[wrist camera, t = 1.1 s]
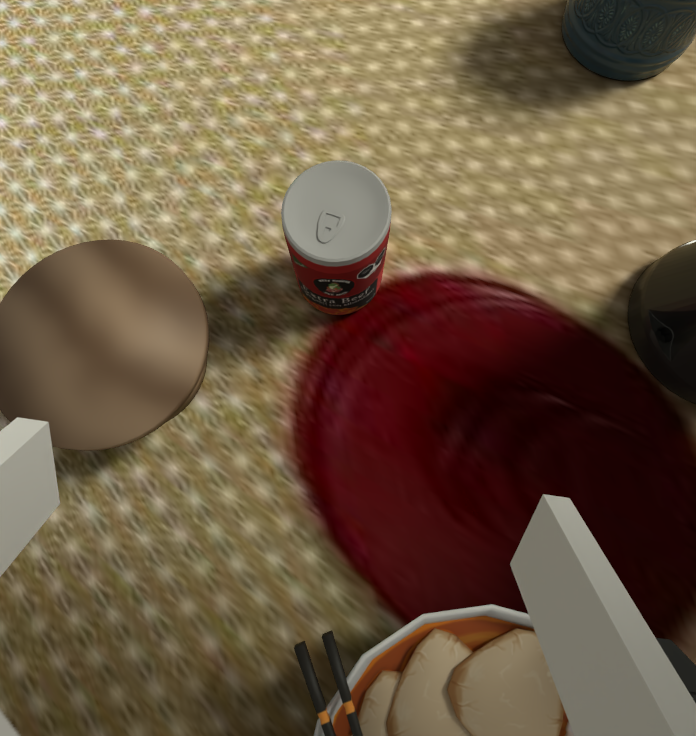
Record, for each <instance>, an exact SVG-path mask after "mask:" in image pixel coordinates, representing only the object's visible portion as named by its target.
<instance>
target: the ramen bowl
mask: <svg viewBox="0 0 696 736" xmlns="http://www.w3.org/2000/svg"><path fill="white" fill-rule="evenodd" d="M322 639H323V642H324V645H325V649H326V652H327V655H328V658H329V661H330V665H331V668H332V671H333V674H334V677H335V680H336V684H337V687H338V691H337V692H336V694H335V695H334V697H333V698H332V700H331V701H330V703H329V704H328V706H327V707H326V704H325V701H324V698H323V695H322V692H321V689H320V686H319V683H318V680H317V677H316V674H315V671H314V668H313V665H312V662H311V659H310V656H309V653H308V650H307V647H306V644H305V641H303V642H301V643H299V644H296V645H295V648H294V650H295V653H296V655H297V658H298V661H299V664H300V667H301V670H302V672H303V675H304V678H305V681H306V684H307V687H308V690H309V692H310V695H311V698H312V701H313V704H314V707H315V709H316V712H317V715H318V717H319V719H318V720H317V724H316V728H315V733H314V736H574V734H573V731H572V729H571V726H570V723H569V721H568V718H567V715H566V713H565V710H564V707H563V705H562V702H561V699H560V697H559V694H558V691H557V689H556V686H555V683H554V681H553V678H552V675H551V673H550V670H549V667H548V665H547V662H546V659H545V657H544V654H543V651H542V649H541V646H540V643H539V641H538V638H537V635H536V633H535V630H534V627H533V624H532V622H531V619H530V616H529V614H526V613H523V612H519V611H515V610H512V609H508V608H504V607H500V606H497V605H493V604H490V605H483V606H476V607H469V608H462V609H455V610H448V611H442V612H435V613H428V614H422V615H421V616H419V617H418V618H416V619H415V620H413V621H412V622H410V623H409V624H407V625H406V626H404V627H403V628H401V629H400V630H398V631H397V632H395V633H394V634H392V635H391V636H389V637H388V638H386V639H385V640H383V641H382V642H380V643H379V644H377V645H376V646H374V647H373V648H371V649H370V650H368V651H367V652H365V653H364V654H362V656H361V657H360V659H359V660H358V661H357V663H356V664H355V666H354V667H353V669H352V670H351V672H350V673H349V675H348V676H347V678H346V676H345V673H344V669H343V666H342V663H341V659H340V656H339V653H338V649H337V646H336V642H335V639H334V636H333V632H332V631H329V632H327V633H324V634H323V635H322Z"/></svg>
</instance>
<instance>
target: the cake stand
mask: <svg viewBox="0 0 696 736" xmlns="http://www.w3.org/2000/svg"><path fill="white" fill-rule="evenodd" d="M208 347H209V325H208V317H207V314H206V310H205V306H204V304H203V301H202V299H201V296H200V294H199V293H198V291H197V289H196V288H195V286H194V284H193V283H192V282H191V281H190V279H189V278H188V277H187V276H186V274H185V273H184V272H183V271H182V270H181V268H179V267H178V266H177V265H176V264H175V263H174V262H173V261H172V260H170V259H169V258H167V257H166V256H164V255H163V254H162V253H160V252H158V251H156V250H154V249H152V248H150V247H147V246H144V245H141V244H138V243H133V242H128V241H122V240H96V241H90V242H84V243H80V244H77V245H73V246H70V247H67V248H65V249H62V250H60V251H57V252H55V253H54V254H52V255H50V256H48V257H46V258H44V259H43V260H41V261H40V262H39V263H37V264H36V265H34V266H33V267H32V268H30V269H29V270H28V271H27V272H26V273H25V274H23V275H22V276H21V277H20V278H19V279H18V281H17V282H16V283H15V284H14V285H13V286H12V287H11V289H10V290H9V291H8V293H7V294H6V295H5V297H4V298H3V300H2V301H1V303H0V410H1V411H2V413H3V414H4V415H5V417H6V418H7V419H8V420H9V421H10V422H12V421H13V420H15V419H16V418H17V417H19V418H26V419H32V420H39V421H46V422H49V428H50V435H51V442H52V446H54V447H59V448H63V449H72V450H84V451H92V450H105V449H110V448H116V447H119V446H122V445H126V444H129V443H132V442H134V441H136V440H138V439H140V438H143V437H145V436H146V435H148V434H150V433H151V432H153V431H155V430H156V429H158V428H159V427H160V426H162V425H163V424H164V423H165V422H167V421H169V420H170V419H172V418H174V417H175V416H176V415H178V414H179V413H180V412H181V411H183V410H184V409H185V408H186V407H187V406H188V405H189V403H190V402H191V401H192V400H193V398H194V397H195V395H196V394H197V392H198V390H199V389H200V386H201V384H202V382H203V379H204V376H205V372H206V366H207V353H208Z"/></svg>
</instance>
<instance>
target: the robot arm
mask: <svg viewBox="0 0 696 736" xmlns="http://www.w3.org/2000/svg"><path fill="white" fill-rule="evenodd" d="M628 321H629V328H630V333H631V337H632V340H633V343H634V345H635V348H636V350H637V352H638V354H639V356H640V358H641V359H642V361H643V362H644V364H645V365H646V367H647V368H648V369H649V371H650V372H651V373H652V374H653V375H654V376H655V377H656V378H657V379H658V380H659V381H660V382H661V383H662V384H663V385H664V386H666V387H667V388H668V389H670V390H671V391H672V392H674V393H675V394H677V395H679V396H680V397H682V398H684V399H686V400H688V401H690V402H693V403H695V404H696V240H693V241H690V242H687V243H685V244H682V245H680V246H678V247H676V248H674V249H673V250H671V251H670V252H668V253H667V254H665V255H664V256H662V257H661V258H660V259H658V260H657V261H655V262H654V263H653V264H651V265H650V266H649V267H648V268H647V269H646V270H645V271H644V272H643V273H642V275H641V276H640V277H639V279H638V280H637V282H636V284H635V286H634V288H633V291H632V294H631V297H630V301H629V309H628ZM59 504H60V500H59V492H58V485H57V478H56V471H55V464H54V457H53V450H52V442H51V435H50V428H49V422H46V421H39V420H32V419H26V418H19V417H17V418H16V419H15V420H13V421H12V422H11V423H10V424H9V425H7V426H6V427H5V428H4V429H2V430H1V431H0V577H1V575H2V574H3V573H4V572H5V570H6V569H7V568H8V567H9V566H10V564H11V563H12V562H13V561H14V559H15V558H16V557H17V556H18V555H19V553H20V552H21V551H22V550H23V548H24V547H25V546H26V545H27V543H28V542H29V541H30V540H31V539H32V537H33V536H34V535H35V534H36V532H37V531H38V530H39V529H40V528H41V526H42V525H43V524H44V523H45V521H46V520H47V519H48V518H49V517H50V515H51V514H52V513H53V512H54V510H55V509H56V508H57V507H58V506H59ZM510 566H511V568H512V571H513V574H514V576H515V579H516V582H517V584H518V587H519V590H520V592H521V595H522V598H523V600H524V603H525V606H526V608H527V611H528V614H529V616H530V619H531V622H532V624H533V627H534V630H535V633H536V635H537V638H538V641H539V643H540V646H541V649H542V651H543V654H544V657H545V659H546V662H547V665H548V667H549V670H550V673H551V675H552V678H553V681H554V683H555V686H556V689H557V691H558V694H559V697H560V699H561V702H562V705H563V707H564V710H565V713H566V715H567V718H568V721H569V723H570V726H571V729H572V731H573V734H574V736H696V665H695V664H694V663H693V662H692V661H691V660H690V659H689V658H688V657H687V656H686V655H685V654H684V653H683V652H682V651H681V650H680V649H679V648H678V647H677V646H676V645H675V644H674V643H673V642H672V641H671V640H668V639H660V638H655V636H654V635H653V633H652V631H651V630H650V628H649V626H648V625H647V623H646V622H645V620H644V618H643V617H642V615H641V613H640V612H639V610H638V609H637V607H636V605H635V604H634V602H633V600H632V599H631V597H630V596H629V594H628V592H627V591H626V589H625V587H624V586H623V584H622V582H621V581H620V579H619V578H618V576H617V574H616V573H615V571H614V569H613V568H612V566H611V565H610V563H609V561H608V560H607V558H606V556H605V555H604V553H603V552H602V550H601V548H600V547H599V545H598V543H597V542H596V540H595V539H594V537H593V535H592V534H591V532H590V530H589V529H588V527H587V525H586V524H585V522H584V521H583V519H582V517H581V516H580V514H579V512H578V511H577V509H576V508H575V506H574V504H573V503H572V501H571V499H570V498H566V497H559V496H552V495H545V494H543V495H542V497H541V499H540V502H539V504H538V506H537V508H536V510H535V512H534V514H533V516H532V518H531V521H530V523H529V525H528V527H527V529H526V531H525V533H524V535H523V537H522V540H521V542H520V544H519V546H518V548H517V550H516V552H515V554H514V557H513V559H512V561H511V563H510Z"/></svg>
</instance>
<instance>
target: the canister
mask: <svg viewBox="0 0 696 736" xmlns="http://www.w3.org/2000/svg"><path fill="white" fill-rule="evenodd" d="M562 35H563V39H564V42H565V44H566V46H567V48H568V49H569V51H570V52H571V54H572V55H573V56H574V57H575V58H576V59H577V60H578V61H579V62H580V63H581V64H582V65H583V66H585V67H586V68H588V69H589V70H591V71H593V72H595V73H597V74H599V75H602V76H605V77H608V78H612V79H617V80H641V79H646V78H649V77H652V76H655V75H657V74H659V73H661V72H662V71H664V70H665V69H666V68H668V67H669V66H670V65H671V64H672V63H673V62H674V61H675V60H677V59H678V58H679V57H680V56H681V55H682V54H683V53H684V52H685V50H686V49H687V48H688V46H689V45H690V44H691V43H692V41H693V40H694V38H695V36H696V0H568V1H567V3H566V7H565V13H564V16H563V19H562Z"/></svg>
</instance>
